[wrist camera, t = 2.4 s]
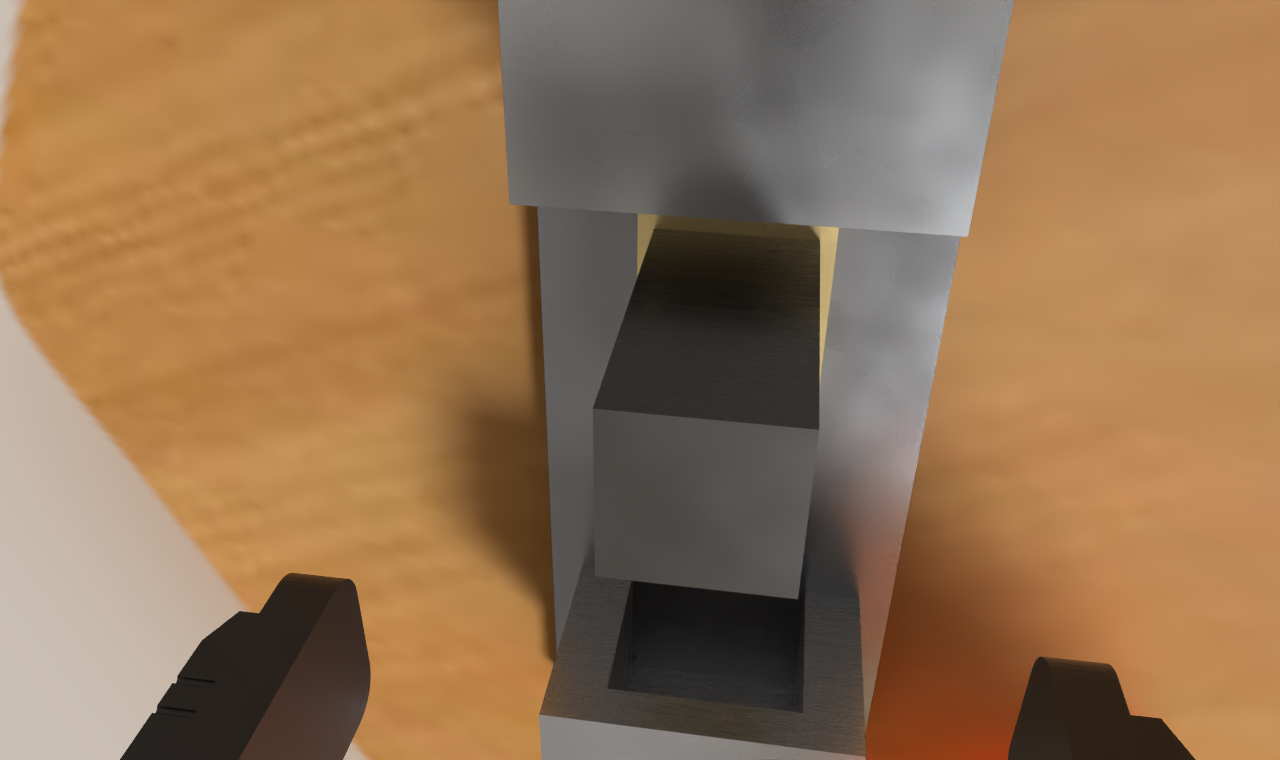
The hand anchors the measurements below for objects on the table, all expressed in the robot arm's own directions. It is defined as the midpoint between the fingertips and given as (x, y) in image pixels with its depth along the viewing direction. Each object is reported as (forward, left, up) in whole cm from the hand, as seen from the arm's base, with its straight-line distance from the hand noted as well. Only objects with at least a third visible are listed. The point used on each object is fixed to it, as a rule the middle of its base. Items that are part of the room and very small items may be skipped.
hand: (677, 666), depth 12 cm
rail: (+3, 0, -13) cm, 13 cm away
